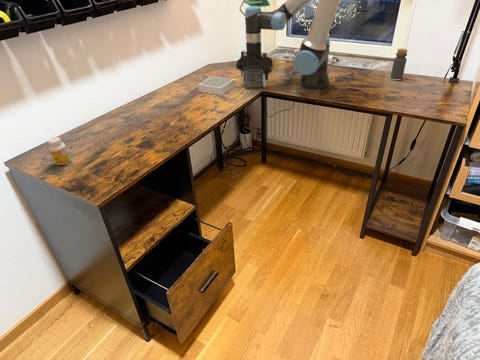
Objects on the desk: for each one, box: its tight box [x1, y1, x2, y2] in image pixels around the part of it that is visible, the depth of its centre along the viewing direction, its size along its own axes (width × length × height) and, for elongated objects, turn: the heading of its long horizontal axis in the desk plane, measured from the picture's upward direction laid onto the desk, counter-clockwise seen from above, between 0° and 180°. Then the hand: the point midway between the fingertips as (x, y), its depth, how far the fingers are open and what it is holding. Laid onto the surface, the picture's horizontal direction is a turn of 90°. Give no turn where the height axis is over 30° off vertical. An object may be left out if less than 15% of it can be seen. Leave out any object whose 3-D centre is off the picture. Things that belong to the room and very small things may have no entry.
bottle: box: [390, 48, 409, 79], centre depth 172 cm, size 6×6×15 cm
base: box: [197, 75, 236, 96], centre depth 177 cm, size 14×14×4 cm
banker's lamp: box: [235, 0, 274, 69], centre depth 197 cm, size 26×23×40 cm
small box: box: [244, 65, 265, 90], centre depth 175 cm, size 11×6×10 cm, turn 84°
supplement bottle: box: [48, 136, 72, 166], centre depth 122 cm, size 5×5×10 cm
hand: (254, 84), depth 178 cm, fingers closed on small box, 12 cm apart
